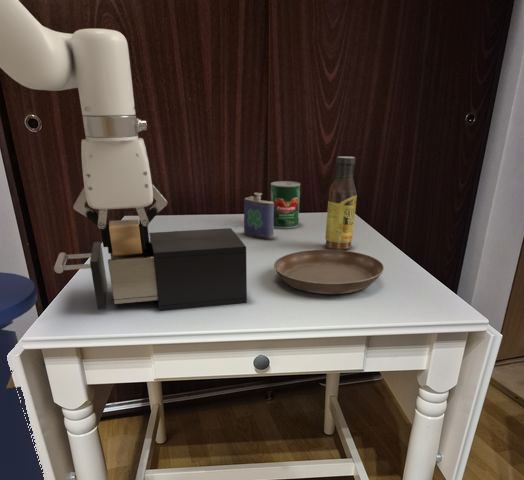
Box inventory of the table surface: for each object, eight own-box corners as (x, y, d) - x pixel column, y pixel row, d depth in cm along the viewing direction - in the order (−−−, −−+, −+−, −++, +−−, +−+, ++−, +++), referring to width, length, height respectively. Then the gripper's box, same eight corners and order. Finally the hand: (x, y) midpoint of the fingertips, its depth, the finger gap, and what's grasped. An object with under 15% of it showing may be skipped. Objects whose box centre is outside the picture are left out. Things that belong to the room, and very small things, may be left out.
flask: (275, 238, 120) (276, 194, 115) (267, 240, 118) (268, 195, 113) (248, 232, 126) (247, 189, 121) (240, 234, 124) (239, 191, 119)
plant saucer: (261, 293, 87) (261, 275, 85) (286, 260, 104) (287, 245, 103) (378, 305, 82) (380, 287, 80) (384, 268, 100) (386, 252, 98)
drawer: (60, 313, 76) (50, 264, 72) (67, 287, 86) (58, 244, 82) (182, 302, 80) (179, 255, 77) (176, 279, 90) (172, 237, 87)
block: (112, 255, 78) (108, 227, 76) (113, 248, 82) (109, 220, 79) (142, 253, 79) (138, 225, 77) (141, 246, 83) (137, 219, 80)
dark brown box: (159, 310, 80) (153, 252, 75) (154, 284, 90) (149, 232, 86) (246, 302, 83) (246, 246, 78) (232, 278, 94) (230, 227, 89)
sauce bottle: (345, 252, 110) (353, 159, 100) (320, 248, 113) (325, 157, 103) (356, 246, 115) (364, 156, 105) (331, 242, 118) (338, 154, 108)
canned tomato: (280, 230, 128) (281, 186, 123) (264, 224, 134) (264, 182, 129) (304, 226, 132) (306, 184, 127) (287, 220, 138) (289, 180, 132)
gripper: (166, 127, 77) (176, 240, 85) (53, 128, 73) (75, 247, 81) (171, 129, 70) (181, 252, 79) (47, 131, 66) (71, 260, 75)
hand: (127, 248), depth 80 cm, fingers closed on block, 4 cm apart
